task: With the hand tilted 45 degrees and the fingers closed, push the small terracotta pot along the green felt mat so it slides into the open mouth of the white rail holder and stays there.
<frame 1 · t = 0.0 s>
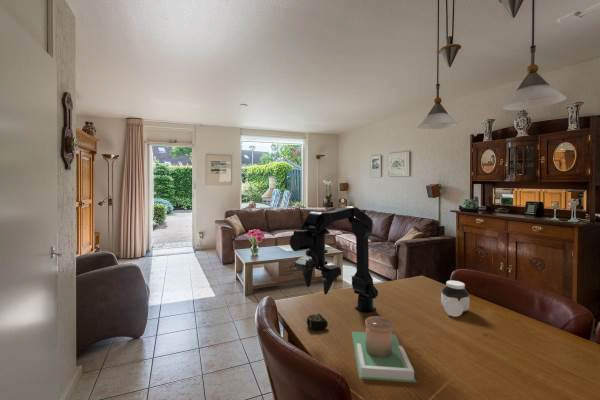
hand: (316, 290, 103), 15 cm above the table, fingers open, 9 cm apart
green mat: (379, 354, 89), on the table
terracotta pot: (378, 350, 90), resting on green mat
spread jar: (454, 312, 120), on the table
tape measure: (317, 327, 107), on the table
white rail holder: (382, 364, 84), resting on green mat
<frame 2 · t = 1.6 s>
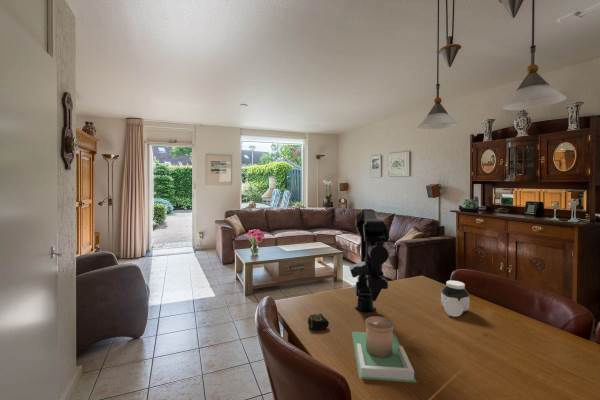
hand: (373, 299, 101), 12 cm above the table, fingers closed
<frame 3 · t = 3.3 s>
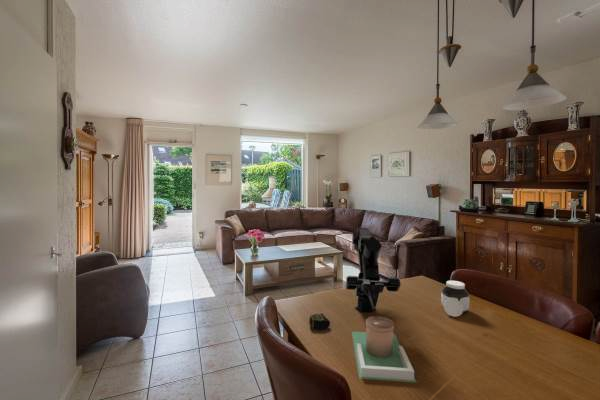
hand: (374, 307, 98), 11 cm above the table, fingers closed
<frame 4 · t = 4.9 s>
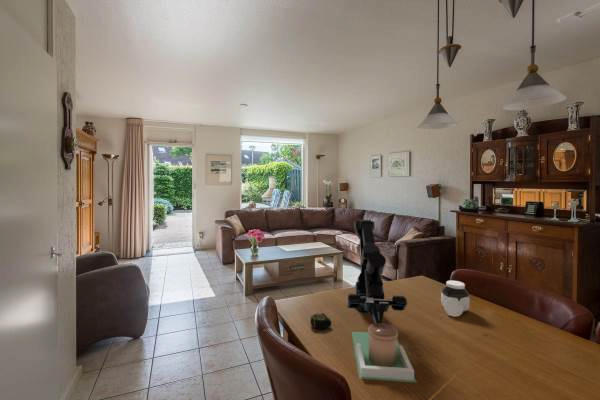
hand: (379, 328, 90), 8 cm above the table, fingers closed
terracotta pot: (382, 359, 86), resting on green mat
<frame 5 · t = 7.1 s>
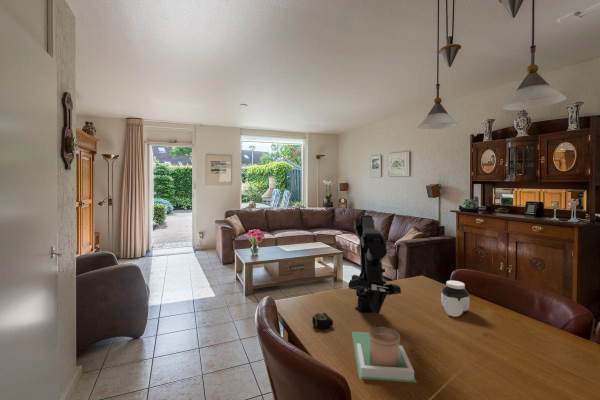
hand: (376, 314, 94), 10 cm above the table, fingers closed
terracotta pot: (383, 364, 83), resting on green mat
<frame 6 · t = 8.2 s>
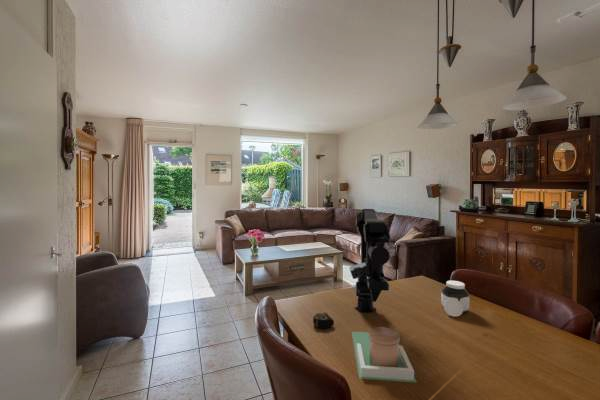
hand: (374, 301, 100), 12 cm above the table, fingers closed
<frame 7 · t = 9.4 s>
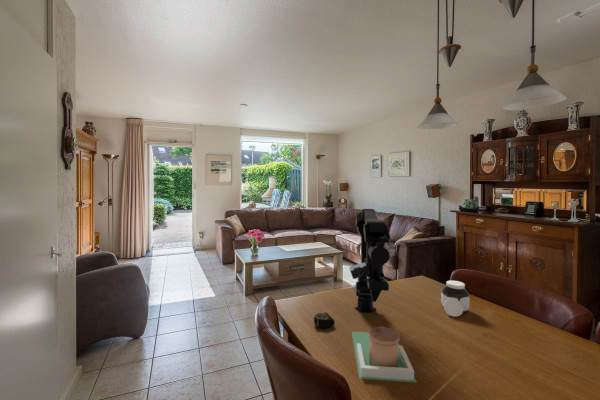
hand: (374, 301, 100), 12 cm above the table, fingers closed
at the end: terracotta pot 0.5 cm from the white rail holder (horizontally); terracotta pot tilted 0° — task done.
